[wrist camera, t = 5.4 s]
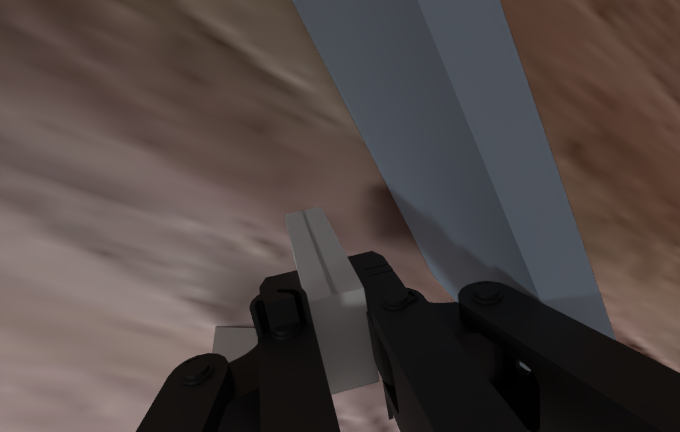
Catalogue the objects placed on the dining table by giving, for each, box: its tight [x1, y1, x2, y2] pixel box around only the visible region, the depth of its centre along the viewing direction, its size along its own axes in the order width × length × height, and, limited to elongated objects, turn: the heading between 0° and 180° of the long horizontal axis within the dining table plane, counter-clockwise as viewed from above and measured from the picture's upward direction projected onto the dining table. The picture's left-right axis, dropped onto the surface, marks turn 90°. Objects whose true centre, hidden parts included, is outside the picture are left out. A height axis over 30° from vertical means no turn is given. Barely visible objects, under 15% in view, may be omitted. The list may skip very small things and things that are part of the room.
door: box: [292, 0, 616, 371], centre depth 13 cm, size 3×16×13 cm, turn 29°
